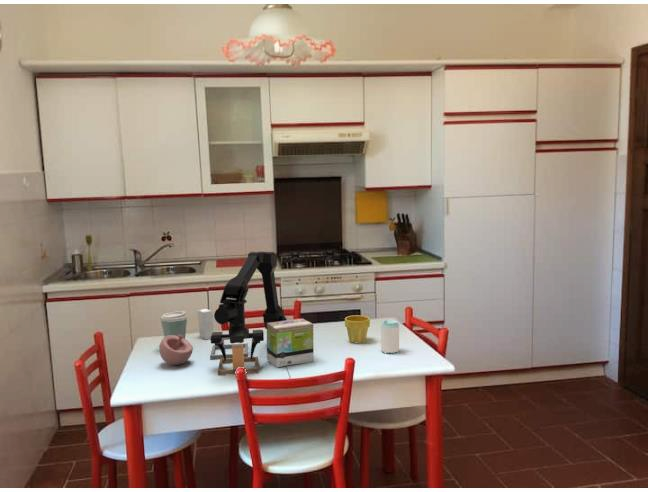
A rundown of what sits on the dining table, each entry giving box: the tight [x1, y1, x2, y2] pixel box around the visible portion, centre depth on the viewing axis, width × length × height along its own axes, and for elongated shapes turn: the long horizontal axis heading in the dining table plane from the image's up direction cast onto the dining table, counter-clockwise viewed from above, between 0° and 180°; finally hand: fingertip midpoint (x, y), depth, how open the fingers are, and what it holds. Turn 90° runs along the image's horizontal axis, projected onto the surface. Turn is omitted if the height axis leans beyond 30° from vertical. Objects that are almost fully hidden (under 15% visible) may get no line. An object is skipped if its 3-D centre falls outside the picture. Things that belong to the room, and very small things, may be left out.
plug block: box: [231, 343, 245, 369], centre depth 209 cm, size 4×4×8 cm
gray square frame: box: [209, 343, 249, 361], centre depth 227 cm, size 14×14×2 cm
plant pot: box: [344, 314, 371, 343], centre depth 239 cm, size 10×10×10 cm
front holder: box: [217, 356, 259, 376], centre depth 210 cm, size 14×14×2 cm
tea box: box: [266, 318, 314, 368], centre depth 215 cm, size 15×10×15 cm
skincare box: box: [197, 308, 215, 340], centre depth 249 cm, size 6×4×12 cm
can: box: [380, 319, 400, 354], centre depth 224 cm, size 7×7×12 cm
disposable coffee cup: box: [160, 310, 188, 339], centre depth 233 cm, size 11×11×15 cm
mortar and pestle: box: [158, 334, 194, 366], centre depth 214 cm, size 12×12×12 cm
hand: (238, 359), depth 209 cm, fingers open, 9 cm apart
